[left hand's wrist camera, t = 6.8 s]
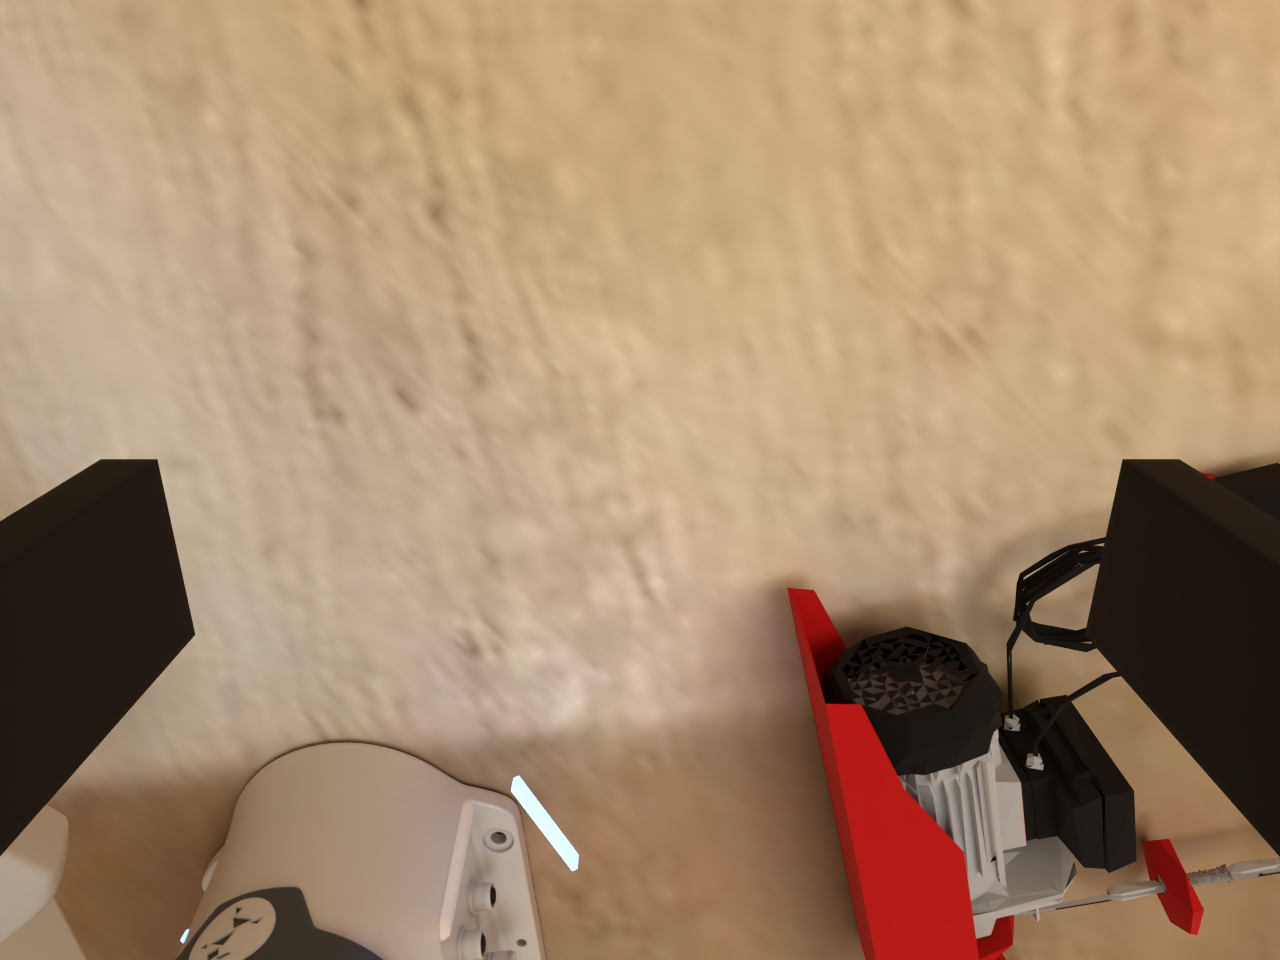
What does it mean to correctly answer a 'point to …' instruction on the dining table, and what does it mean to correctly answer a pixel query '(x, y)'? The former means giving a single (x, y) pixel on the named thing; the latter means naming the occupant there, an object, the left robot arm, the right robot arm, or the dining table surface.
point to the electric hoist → (979, 779)
